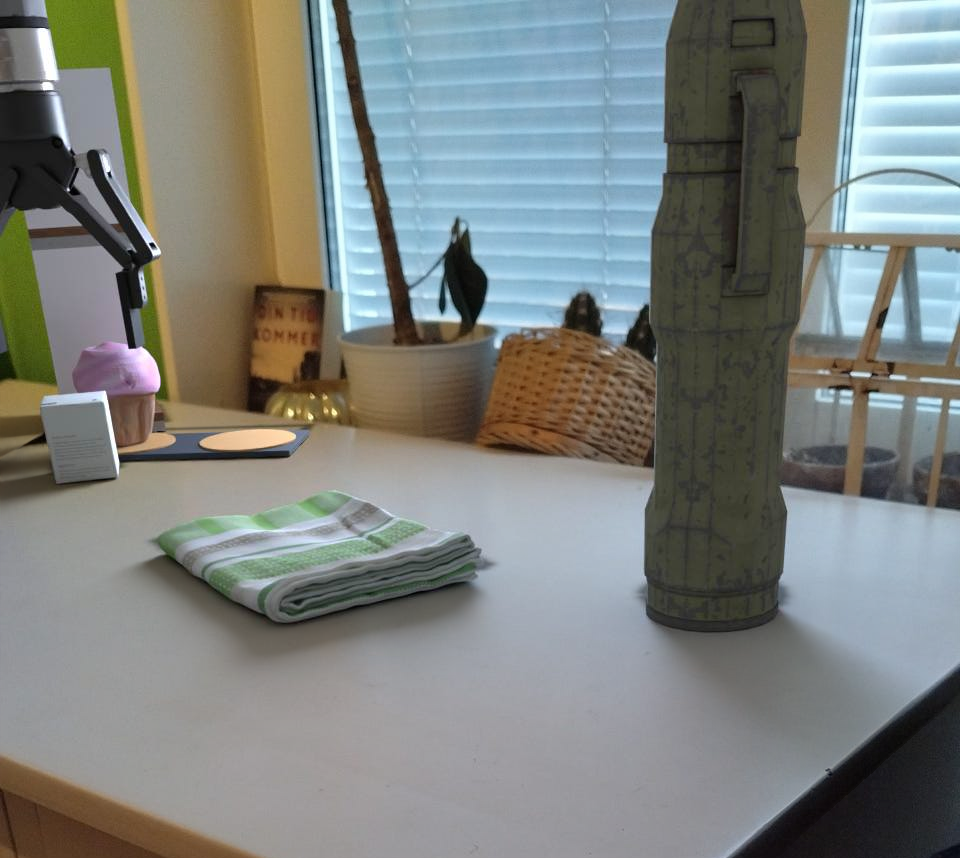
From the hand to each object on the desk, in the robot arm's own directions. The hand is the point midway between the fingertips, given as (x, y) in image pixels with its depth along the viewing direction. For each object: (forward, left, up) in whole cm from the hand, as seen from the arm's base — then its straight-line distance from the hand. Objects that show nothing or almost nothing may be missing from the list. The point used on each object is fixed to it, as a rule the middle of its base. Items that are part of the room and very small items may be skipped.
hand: (67, 350), depth 124 cm
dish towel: (+29, -32, -12) cm, 45 cm away
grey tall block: (-6, +24, -12) cm, 27 cm away
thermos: (+58, -43, -12) cm, 73 cm away
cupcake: (0, +11, -11) cm, 16 cm away
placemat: (+7, +11, -12) cm, 17 cm away
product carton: (0, 0, -12) cm, 12 cm away
